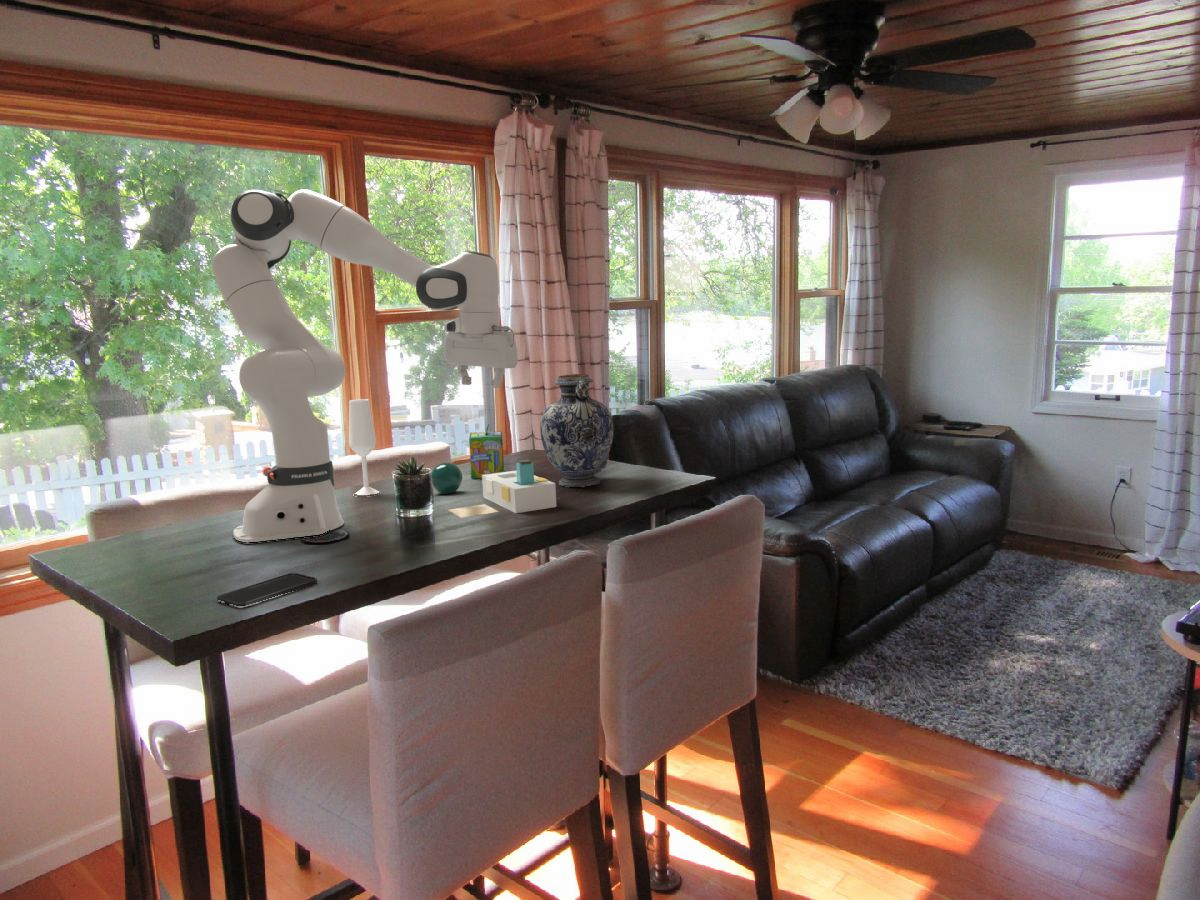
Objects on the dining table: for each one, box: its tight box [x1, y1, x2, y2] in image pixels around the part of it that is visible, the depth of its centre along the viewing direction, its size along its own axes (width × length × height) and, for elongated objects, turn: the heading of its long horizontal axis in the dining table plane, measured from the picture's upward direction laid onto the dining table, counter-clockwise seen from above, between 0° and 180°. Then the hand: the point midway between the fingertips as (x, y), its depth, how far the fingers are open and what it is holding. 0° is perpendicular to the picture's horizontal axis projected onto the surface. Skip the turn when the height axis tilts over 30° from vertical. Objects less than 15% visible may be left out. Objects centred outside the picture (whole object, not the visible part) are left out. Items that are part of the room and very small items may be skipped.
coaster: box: [447, 503, 500, 519], centre depth 197 cm, size 9×9×1 cm
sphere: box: [430, 461, 463, 495], centre depth 218 cm, size 8×8×8 cm
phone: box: [216, 572, 319, 606], centre depth 147 cm, size 8×1×15 cm
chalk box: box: [468, 421, 505, 480], centre depth 239 cm, size 9×9×15 cm
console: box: [481, 470, 557, 514], centre depth 204 cm, size 10×20×6 cm, turn 28°
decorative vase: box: [539, 373, 614, 488], centre depth 222 cm, size 21×19×28 cm
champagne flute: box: [348, 398, 380, 495], centre depth 220 cm, size 7×7×24 cm
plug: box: [515, 458, 535, 486], centre depth 199 cm, size 3×3×9 cm
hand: (481, 386), depth 199 cm, fingers open, 8 cm apart
